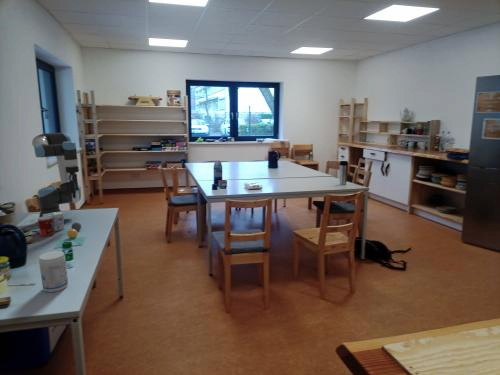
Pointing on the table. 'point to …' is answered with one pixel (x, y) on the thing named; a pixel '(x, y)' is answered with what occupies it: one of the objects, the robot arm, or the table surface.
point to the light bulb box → (57, 220)
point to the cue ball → (76, 226)
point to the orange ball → (72, 233)
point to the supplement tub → (53, 271)
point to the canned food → (46, 226)
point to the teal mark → (76, 240)
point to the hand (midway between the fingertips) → (76, 201)
